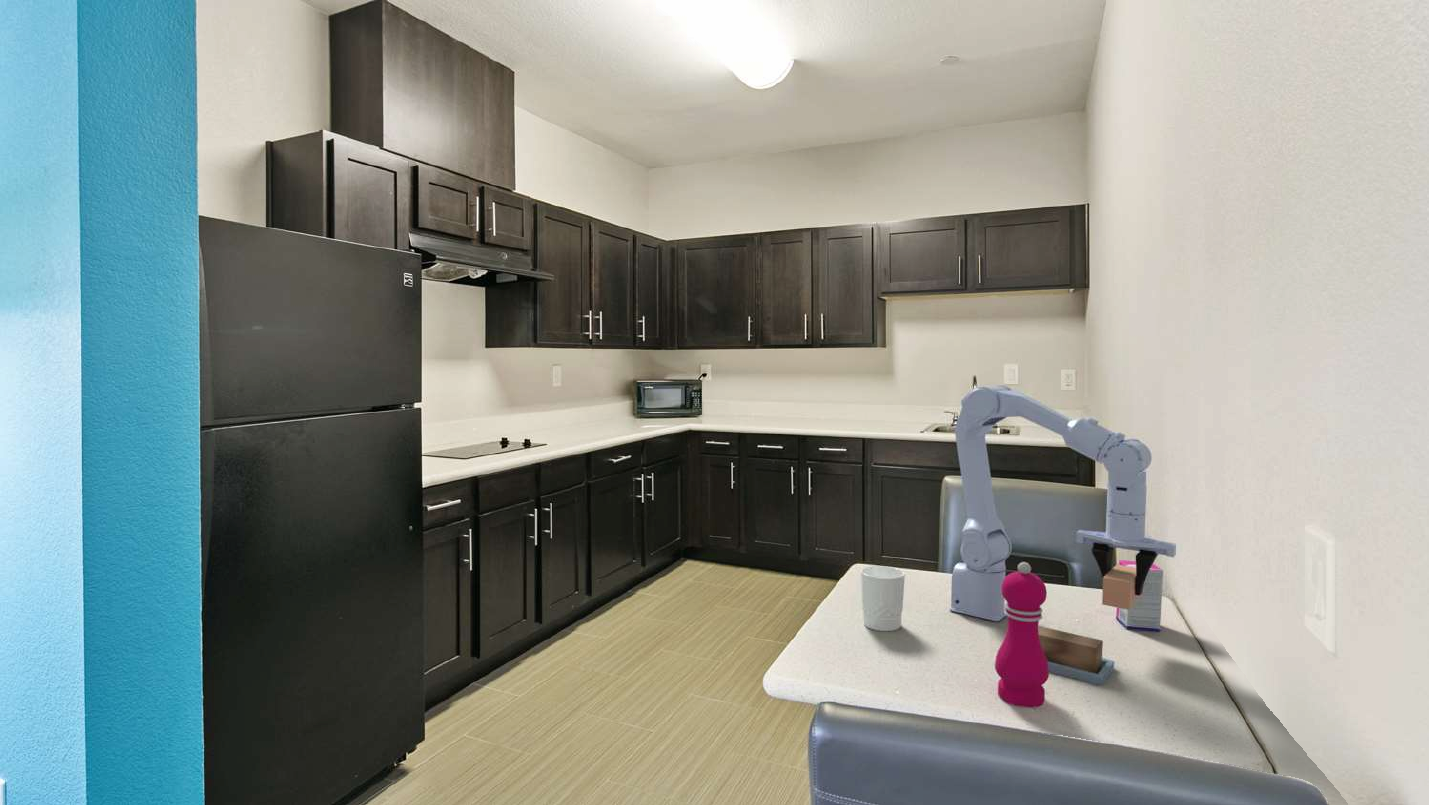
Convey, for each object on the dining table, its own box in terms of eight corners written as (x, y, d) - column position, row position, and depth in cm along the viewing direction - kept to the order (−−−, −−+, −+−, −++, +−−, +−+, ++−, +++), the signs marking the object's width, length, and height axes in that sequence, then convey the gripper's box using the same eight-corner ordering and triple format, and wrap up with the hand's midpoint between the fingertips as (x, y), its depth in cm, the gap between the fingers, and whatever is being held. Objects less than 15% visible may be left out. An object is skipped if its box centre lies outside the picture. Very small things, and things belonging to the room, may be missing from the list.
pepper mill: (985, 687, 108) (988, 556, 106) (1031, 685, 108) (1035, 555, 107) (1009, 710, 100) (1012, 570, 99) (1058, 708, 101) (1062, 569, 100)
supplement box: (1161, 632, 130) (1164, 569, 129) (1125, 629, 131) (1128, 568, 130) (1149, 620, 135) (1151, 561, 135) (1115, 618, 136) (1117, 559, 136)
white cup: (856, 629, 131) (857, 575, 130) (864, 615, 138) (865, 564, 138) (900, 635, 128) (901, 580, 127) (906, 620, 135) (907, 568, 135)
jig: (995, 664, 116) (995, 657, 115) (1023, 639, 126) (1023, 632, 126) (1096, 692, 106) (1097, 684, 106) (1118, 662, 117) (1118, 655, 116)
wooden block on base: (1021, 660, 118) (1022, 630, 117) (1029, 653, 121) (1029, 624, 120) (1095, 680, 111) (1096, 648, 110) (1101, 671, 114) (1102, 640, 113)
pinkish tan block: (1102, 604, 119) (1103, 577, 119) (1115, 590, 127) (1116, 564, 127) (1129, 610, 117) (1130, 582, 116) (1141, 594, 124) (1142, 568, 124)
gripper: (1072, 509, 123) (1070, 587, 124) (1172, 522, 113) (1168, 606, 114) (1083, 503, 128) (1081, 578, 129) (1179, 515, 119) (1176, 595, 119)
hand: (1122, 591), depth 122 cm, fingers closed on pinkish tan block, 4 cm apart
